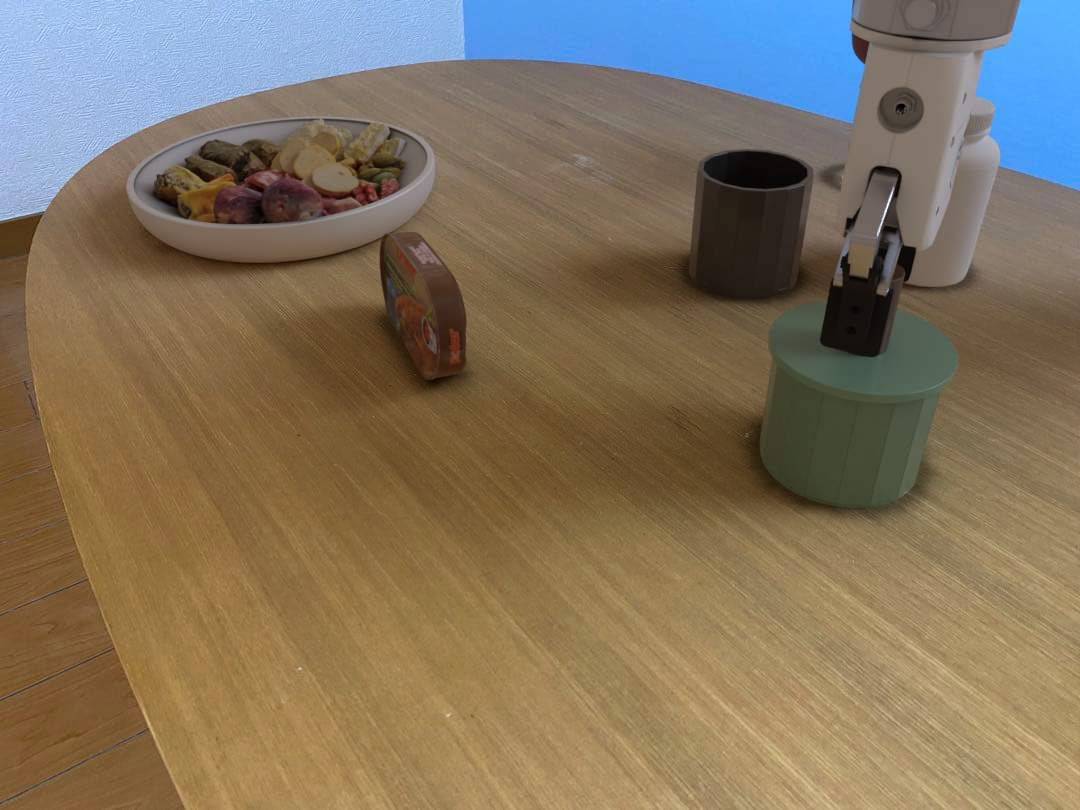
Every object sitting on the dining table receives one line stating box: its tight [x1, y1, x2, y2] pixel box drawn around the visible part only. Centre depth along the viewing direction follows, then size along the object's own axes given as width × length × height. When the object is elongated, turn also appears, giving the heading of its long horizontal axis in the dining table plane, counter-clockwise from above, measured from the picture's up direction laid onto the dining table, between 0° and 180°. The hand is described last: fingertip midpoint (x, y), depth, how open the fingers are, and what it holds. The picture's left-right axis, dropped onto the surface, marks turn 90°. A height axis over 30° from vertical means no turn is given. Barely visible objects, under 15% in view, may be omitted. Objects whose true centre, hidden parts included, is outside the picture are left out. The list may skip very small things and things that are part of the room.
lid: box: [767, 259, 959, 403], centre depth 56 cm, size 11×11×6 cm
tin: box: [379, 231, 468, 381], centre depth 72 cm, size 15×3×8 cm, turn 23°
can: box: [759, 357, 942, 509], centre depth 60 cm, size 10×10×8 cm
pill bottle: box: [903, 95, 1001, 288], centre depth 80 cm, size 8×8×15 cm
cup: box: [688, 148, 815, 300], centre depth 81 cm, size 9×9×10 cm
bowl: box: [125, 116, 436, 264], centre depth 95 cm, size 30×30×8 cm
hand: (866, 310), depth 55 cm, fingers open, 9 cm apart
